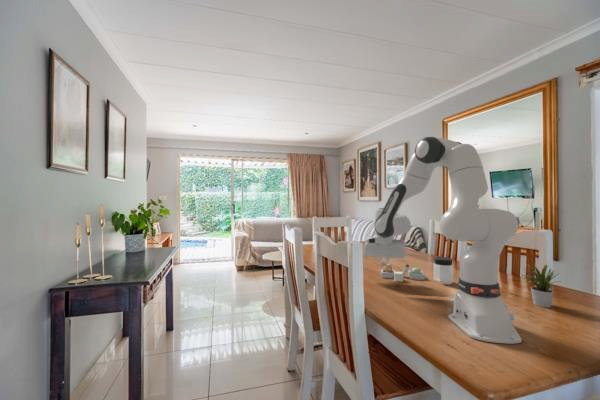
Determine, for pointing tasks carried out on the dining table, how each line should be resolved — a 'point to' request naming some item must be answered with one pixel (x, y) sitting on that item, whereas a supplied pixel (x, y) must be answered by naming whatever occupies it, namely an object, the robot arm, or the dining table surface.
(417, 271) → the green button
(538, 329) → the dining table surface
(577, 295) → the dining table surface
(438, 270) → the jar
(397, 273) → the slider knob
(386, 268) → the terracotta button
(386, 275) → the panel
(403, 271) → the ball-tipped lever
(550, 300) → the house plant
